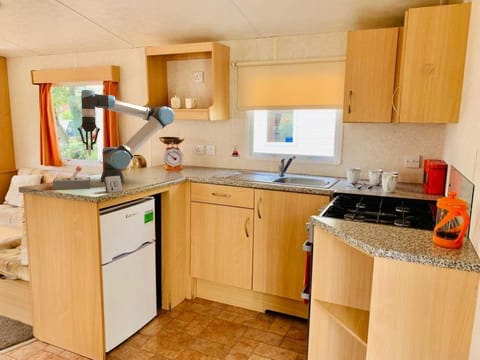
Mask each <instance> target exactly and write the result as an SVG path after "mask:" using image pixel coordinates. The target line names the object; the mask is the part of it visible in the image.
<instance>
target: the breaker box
mask: <svg viewBox="0 0 480 360" xmlns="http://www.w3.org/2000/svg"><path fill="white" fill-rule="evenodd" d="M70 178H71V177H54V179H52V190H53V191H56V190H57V191H58V190H63V191H64V190H83V189H84V190H85V189H88V190H89V189H91V177H89V176H88V177H84V176H82V177H75V179H74V180H70Z"/></svg>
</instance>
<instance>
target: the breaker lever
mask: <svg viewBox="0 0 480 360" xmlns="http://www.w3.org/2000/svg"><path fill="white" fill-rule="evenodd" d="M81 171H82V167H81V166H80V165H77V167H76V168H75V171H74V173H73V174H72V176H70V177H69V178H70V180H74V179H75V178H77V175H78V173H79V172H81Z"/></svg>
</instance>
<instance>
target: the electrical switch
mask: <svg viewBox="0 0 480 360" xmlns="http://www.w3.org/2000/svg"><path fill="white" fill-rule="evenodd" d="M104 189H105V192H106V193H108V194H111V193H119V192H122V191H123V185H122V182H121V179H120V176H111V177H105V179H104Z"/></svg>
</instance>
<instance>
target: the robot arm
mask: <svg viewBox="0 0 480 360" xmlns="http://www.w3.org/2000/svg"><path fill="white" fill-rule="evenodd" d="M80 98H81V101H80V103H81V116H82V117H81V125H80V126H78V127H77V130H78V132H79V135H80V138H81V141H82V142H81V143H82V144H83V145H85V149H86V151H88V154H87V155H88V156H89V157H90V156H91V157H92V151H93V150H94V145H96V144H97V140H98V136H99V132H100V130H101V128H100V127H98V126H97V124H96V108H98V109H103V110H108V111H111V112H112V111H113V112H116V113H120V114H124V115H128V116H132V117H133V116H134V117H137V118H141V119H143V121H147V122H146V123H145V124H143V126H142V127H141V128H139V130H137V132H135V133H134V134H133V135H132V136H131V137H130V138H129V139H128V140H127V141H126V142H125V143H123V144H119V145H118V146H115V147H114V146H111V147H110V146H109V147H103V148H102V173H101V175H100V182H101V183H104V179H105V177H111V176H120V179H121V183H124V182H125V177H124V174H123V172H122V170H123V169H126V168H128V167H129V165H130V164H131V161H132V160H133V159H134V158H135V153H137V152H138V151H139V149H140V148H141V147H143V146H144V145H145V144H146V143H147V142H148V141H149V140H150V139H151V138H152V137H153V136H154V135H155V134H156V133H157V132H158V131H160V130H164V128H166V127H167V126H169V125H171V124H173V122H174V121H175V112H174V110H173V109H172V108H171V107H168V106H158V107H157V106H155V107H153V106H148V105H146V106H145V107H144V106H140V105H137V104H134V103H130V102H126V101H122V100H119V99H116V96H115V95H111V94H97V93H96V91H95V90H91V89H82V90H81V96H80ZM94 130H95V131H96V132H95V136H93V132H94ZM83 131H84V132H85V138H84V135H83ZM89 133H90V135H89ZM89 136H90V144H89ZM93 137H94V138H93Z"/></svg>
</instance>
